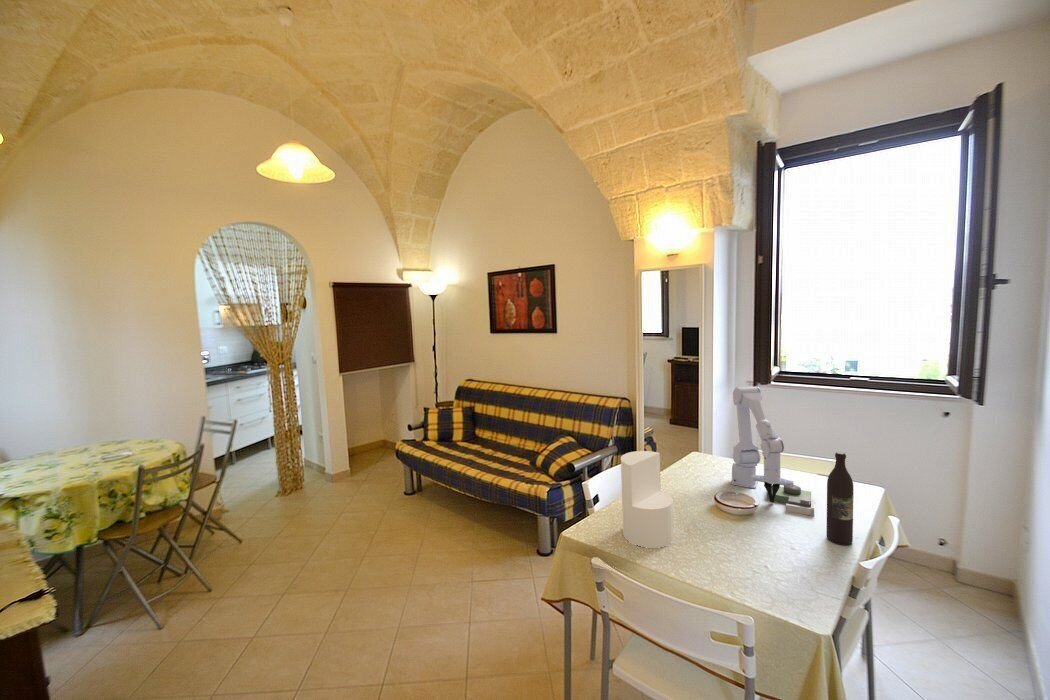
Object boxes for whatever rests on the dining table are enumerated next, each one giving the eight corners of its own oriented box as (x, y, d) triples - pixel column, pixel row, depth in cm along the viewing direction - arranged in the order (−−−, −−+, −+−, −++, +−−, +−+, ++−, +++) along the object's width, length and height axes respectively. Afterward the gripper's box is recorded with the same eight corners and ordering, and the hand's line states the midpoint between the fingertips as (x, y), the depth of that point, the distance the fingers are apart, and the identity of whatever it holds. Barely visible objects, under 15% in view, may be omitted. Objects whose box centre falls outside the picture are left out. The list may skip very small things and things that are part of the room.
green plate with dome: (765, 507, 169) (765, 496, 168) (769, 490, 183) (769, 480, 183) (814, 516, 160) (814, 504, 159) (814, 498, 174) (814, 487, 174)
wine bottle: (828, 543, 142) (829, 455, 139) (824, 533, 148) (825, 448, 145) (854, 547, 139) (856, 457, 136) (850, 537, 145) (851, 450, 142)
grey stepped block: (788, 509, 166) (788, 497, 166) (789, 504, 171) (789, 492, 170) (809, 513, 162) (810, 501, 162) (810, 508, 167) (810, 496, 166)
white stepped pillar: (613, 535, 154) (610, 459, 151) (641, 518, 165) (639, 447, 162) (655, 554, 140) (653, 472, 138) (683, 535, 151) (681, 458, 149)
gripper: (750, 468, 171) (750, 501, 172) (793, 474, 163) (793, 508, 164) (752, 462, 177) (752, 494, 178) (793, 468, 169) (793, 501, 170)
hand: (772, 500), depth 171 cm, fingers closed
